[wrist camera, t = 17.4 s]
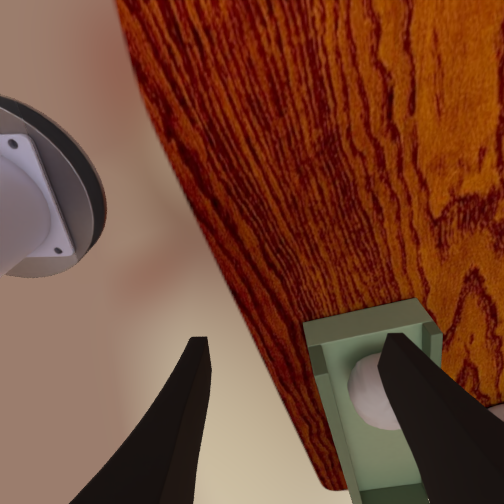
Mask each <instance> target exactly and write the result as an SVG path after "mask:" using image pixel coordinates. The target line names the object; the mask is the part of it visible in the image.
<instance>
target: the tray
mask: <svg viewBox="0 0 504 504" xmlns="http://www.w3.org/2000/svg"><path fill="white" fill-rule="evenodd" d="M303 327H304V332H305V336H306V341H307V346H308V350H309V355H310V360H311V364H312V369H313V374H314V378H315V381H316V384H317V387H318V391H319V394H320V397H321V401H322V404H323V407H324V411H325V414H326V417H327V420H328V424H329V427H330V430H331V434H332V437H333V440H334V444H335V447H336V450H337V453H338V457H339V460H340V463H341V467H342V470H343V473H344V477H345V480H346V483H347V486H348V490H349V493H350V496H351V500H352V503H353V504H430V503H429V500H428V496H427V493H426V490H425V487H424V484H423V481H422V478H421V476H420V473H419V470H418V467H417V464H416V462H415V459H414V457H413V455H412V452H411V450H410V448H409V445H408V443H407V441H406V439H405V436H404V434H403V432H402V430H401V429H397V430H385V429H379V428H377V427H374V426H371V425H369V424H367V423H366V422H365V421H364V420H363V419H362V418H361V417H360V416H359V415H358V413H357V412H356V410H355V408H354V405H353V403H352V401H351V399H350V397H349V392H348V388H347V383H348V380H349V378H350V374H351V371H352V369H353V368H354V367H355V366H356V363H357V362H358V361H360V360H361V359H362V358H364V357H366V356H369V355H371V354H376V353H380V352H382V349H383V346H384V343H385V340H386V337H387V333H404V334H405V335H406V336H407V337H408V338H409V339H410V340H411V341H412V342H413V343H414V344H415V345H417V346H418V347H419V348H420V349H421V350H422V351H423V352H424V353H425V354H426V355H427V356H428V357H429V358H430V359H431V360H432V361H433V362H434V363H435V364H436V365H438V366H439V367H440V368H441V356H442V339H443V333H442V332H441V330H440V329H439V328H438V326H437V325H436V324H435V322H434V321H433V320H432V318H431V317H430V316H429V314H428V313H427V312H426V310H425V309H424V308H423V306H422V305H421V304H420V302H419V301H418V299H417V298H412V299H408V300H403V301H399V302H394V303H390V304H385V305H381V306H376V307H372V308H367V309H363V310H358V311H354V312H349V313H345V314H340V315H335V316H331V317H326V318H322V319H317V320H313V321H308V322H304V323H303Z"/></svg>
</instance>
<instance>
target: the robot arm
mask: <svg viewBox="0 0 504 504" xmlns="http://www.w3.org/2000/svg"><path fill="white" fill-rule="evenodd" d="M12 140H14V141H16V142H17V144H18V147H16V146H15V145H14V144H13V141H12ZM58 248H60V249H61V250H62V251H60V250H59V249H58ZM75 251H76V250H75V246H74V243H73V241H72V238H71V236H70V233H69V230H68V228H67V225H66V223H65V220H64V218H63V215H62V212H61V210H60V207H59V205H58V202H57V199H56V197H55V194H54V192H53V189H52V187H51V184H50V181H49V179H48V176H47V174H46V171H45V168H44V166H43V163H42V161H41V158H40V156H39V153H38V150H37V148H36V145H35V143H34V141H33V139H32V138H31V137H30V136H28V135H26V134H22V133H20V134H0V278H1V277H2V276H3V275H5V274H6V273H7V272H8V271H9V270H11V269H12V268H13V267H14V266H16V265H17V264H18V263H19V262H20V261H22V260H23V259H24V258H25V257H65V256H71V255H73V254H74V253H75ZM377 368H378V371H379V375H380V378H381V382H382V385H383V388H384V391H385V393H386V396H387V398H388V400H389V403H390V405H391V407H392V410H393V412H394V414H395V416H396V419H397V421H398V423H399V425H400V428H401V430H402V432H403V434H404V436H405V439H406V441H407V443H408V445H409V448H410V450H411V452H412V455H413V457H414V459H415V462H416V464H417V467H418V470H419V473H420V476H421V478H422V481H423V484H424V487H425V490H426V493H427V496H428V499H429V502H430V504H504V422H503V421H502V420H501V419H500V418H498V417H497V416H496V415H494V414H493V413H492V412H491V411H489V410H488V409H487V408H486V407H484V406H483V405H482V404H481V403H480V402H478V401H477V400H476V399H475V398H474V397H472V396H471V395H470V394H469V393H468V392H466V391H465V390H464V389H463V388H462V387H461V386H460V385H458V384H457V383H456V382H455V381H454V380H453V379H452V378H451V377H449V376H448V375H447V374H446V373H445V372H444V371H443V370H442V369H441V368H440V367H439V366H438V365H436V364H435V363H434V362H433V361H432V360H431V359H430V358H429V357H428V356H427V355H426V354H425V353H424V352H423V351H422V350H421V349H420V348H419V347H418V346H417V345H415V344H414V343H413V342H412V341H411V340H410V339H409V338H408V337H407V336H406V335H405V334H404V333H387V337H386V340H385V343H384V346H383V349H382V352H381V355H380V359H379V362H378V365H377ZM211 372H212V368H211V361H210V354H209V346H208V339H207V337H191V338H190V339H189V341H188V343H187V346H186V348H185V350H184V352H183V354H182V355H181V357H180V359H179V361H178V363H177V365H176V366H175V368H174V370H173V372H172V373H171V375H170V377H169V378H168V380H167V382H166V384H165V385H164V387H163V388H162V390H161V391H160V393H159V395H158V396H157V397H156V399H155V401H154V402H153V404H152V405H151V407H150V408H149V409H148V411H147V412H146V414H145V415H144V416H143V418H142V419H141V421H140V422H139V423H138V425H137V426H136V427H135V429H134V430H133V431H132V432H131V434H130V435H129V436H128V438H127V439H126V440H125V441H124V442H123V444H122V445H121V446H120V448H119V449H118V450H117V451H116V452H115V453H114V455H113V456H112V457H111V458H110V459H109V461H108V462H107V463H106V464H105V465H104V467H102V469H101V470H100V471H99V472H98V473H97V474H96V475H95V476H94V477H93V478H92V480H91V481H90V482H89V483H88V484H87V485H86V486H85V487H84V488H83V489H82V490H81V491H80V493H79V494H78V495H77V496H76V497H75V498H74V499H73V500H72V501H71V502H70V503H69V504H193V501H194V491H195V481H196V471H197V464H198V457H199V452H200V446H201V441H202V435H203V430H204V424H205V419H206V414H207V408H208V402H209V396H210V385H211Z"/></svg>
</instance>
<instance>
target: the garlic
mask: <svg viewBox="0 0 504 504" xmlns="http://www.w3.org/2000/svg"><path fill="white" fill-rule="evenodd" d="M380 355H381V352H380V353H376V354H371V355H369V356H366V357H364V358H362V359H361V360H360V361H358V362H357V363H356V366H355V367H354V368H353V369H352V371H351V374H350V378H349V380H348V383H347V388H348V392H349V397H350V399H351V401H352V403H353V405H354V408H355V410H356V412H357V413H358V415H359V416H360V417H361V418H362V419H363V420H364V421H365V422H366V423H367V424H369V425H371V426H374V427H377V428H379V429H385V430H397V429H401V428H400V425H399V423H398V421H397V419H396V416H395V414H394V412H393V410H392V407H391V405H390V403H389V400H388V398H387V396H386V393H385V391H384V388H383V385H382V382H381V378H380V375H379V371H378V368H377V365H378V362H379V359H380Z"/></svg>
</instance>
